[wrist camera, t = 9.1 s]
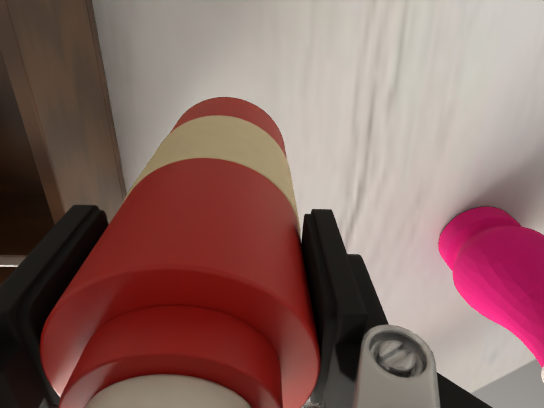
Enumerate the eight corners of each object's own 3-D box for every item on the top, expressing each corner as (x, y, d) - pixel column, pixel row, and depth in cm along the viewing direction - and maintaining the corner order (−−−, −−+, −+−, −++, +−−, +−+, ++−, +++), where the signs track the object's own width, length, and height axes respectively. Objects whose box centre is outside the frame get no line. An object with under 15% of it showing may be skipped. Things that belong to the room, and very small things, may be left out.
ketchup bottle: (163, 93, 16) (-181, 429, 3) (289, 97, 16) (390, 423, 4) (174, 203, 18) (6, 610, 6) (282, 205, 19) (327, 600, 6)
